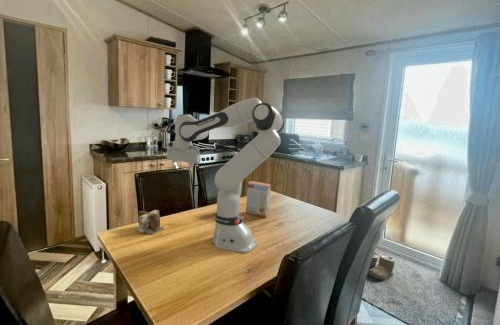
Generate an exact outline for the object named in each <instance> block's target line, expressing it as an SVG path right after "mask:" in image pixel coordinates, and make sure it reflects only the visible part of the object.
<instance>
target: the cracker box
mask: <svg viewBox="0 0 500 325" xmlns="http://www.w3.org/2000/svg"><path fill="white" fill-rule="evenodd" d="M246 188H247V190H246V205H245V209H246V210H245V214H247V215H251V216H255V217H260V218H264V219H266V218H267V217H269V215H270V206H271V205H270V204H271V193H272V192H271V191H272V184H270V183H264V182H261V181H254V180H251V181H248V182H247V187H246Z"/></svg>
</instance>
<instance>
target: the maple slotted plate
mask: <svg viewBox="0 0 500 325" xmlns="http://www.w3.org/2000/svg"><path fill="white" fill-rule="evenodd" d="M151 214H158V215H160V210H159V209H154V210H152V211H150V212H149V211H148V213H147V214H144V215H142V216H139V215H138V226H139V230H138V232H139V233H141V234H142V233H145V231H147V230H149V225H148V222H150V215H151Z"/></svg>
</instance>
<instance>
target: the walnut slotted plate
mask: <svg viewBox="0 0 500 325" xmlns="http://www.w3.org/2000/svg"><path fill="white" fill-rule="evenodd" d="M147 213H149V211H146V210H140V211H138V217H139V216H142V215H144V214H147ZM148 225H149V230H147V231H145V232H146V233H145V232H144V233H145V234H149V233H150V234H149V235H152V234H153V235H155V234H157V233H159V232H161V231H162V229H163V230H164V227H163V226H161V215H160V214H159V215H158V214H151V215H150V222H148ZM134 230H136V231H139V225H138V226H136V227H135V228H134ZM160 230H161V231H160ZM158 231H159V232H158ZM156 232H157V233H156ZM154 233H155V234H154Z"/></svg>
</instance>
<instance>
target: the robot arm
mask: <svg viewBox="0 0 500 325" xmlns="http://www.w3.org/2000/svg"><path fill="white" fill-rule="evenodd" d="M251 122H254V124H255V127H256V129H257V130H259V131H258V134H257V135H256V136H255V137H254V138H253V139H251V141H249V142H248V143H247V144H246V145H245V146H244V147H243V148H241V150H239V152H237V153H236V154H234V156H233V157H231V159H229V160H228V161H227V162H226V163H225V164H224V165H223V166H221V168H219V169H218V170H217V172H216V173H215V176H214V184H215V187H216V188H217V189H218V193H217V194H218V195H217V198H216V199H217V200H216V212H215V220H214V221H215V228H214V233H213V236H212V237H211V238H212V239H211V240H212V243H213V244H214V245H215V248H216V249H221V250H224V251H225V250H228V251H232V252H239V253H245V254H246V253H249V252H251V251H253V250H254V249H255V248H256V246H257V244H258V242H257V241H258V240H257V239H256V238H254V235H253V231H252V230H251V229H250V228H249V226H247V225H246V224H245V223H244V222H243V219H244V215H242V216H241V215H240V200H241V194H242V188H243V187H242V186H243V181H244V180H245V179H246V178H247V177H248V176H249V175H251V173H252V172H253V171H254V170H256V169H257V168H258V167H259V166H260V165H261V164H263V162H265V161H266V160H267V159H268V158H269V157H271V155H272V154H273V153H274V152H275V151H276V150H277V149H278V147H279V146H280V145H281V143H282V142H281V140H282V139H281V136H280V135H279V133H280V132H282V130H283V129H284V127H285V119H284V117H283V115H281V114H280V112H279V111H278V109H277V108H275V107H274V105H272V104H270V103H268V102H263V101H261V100H260V99H259V98H257V97H251V98H246V99H243V100H241V101H238V102H236V103H233V104H230V105H229V106H227V107H225V108H224V109H222V110H220V111H218V112H216V113H214V114H212V115H209V116H206V117H204V118H202V119H197V118H195V117H194V116H193V115H192V114H189V113H185V114H184V113H183V114H179V115H177V116H176V118H175V122H174V123H175V124H174V131H175V137H174V140H173V141H169V142H167V143H166V146H167V148H166V159H167V160H169V161H172V164H173V169H179V165H178V163H177V162H183V163H189V165H190V166H188V167H187V171H188V172H192V171H193V168H194V166H195V164H200V162H201V151H200V148H199V147H198V145H193V142H194V141H199V140H200V141H201V140H203V139H205V138H207V137H208V136H209V134H210V131H212V130H214V129H220V128H233V127H240V126H244V125H245V124H248V123H251Z"/></svg>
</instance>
